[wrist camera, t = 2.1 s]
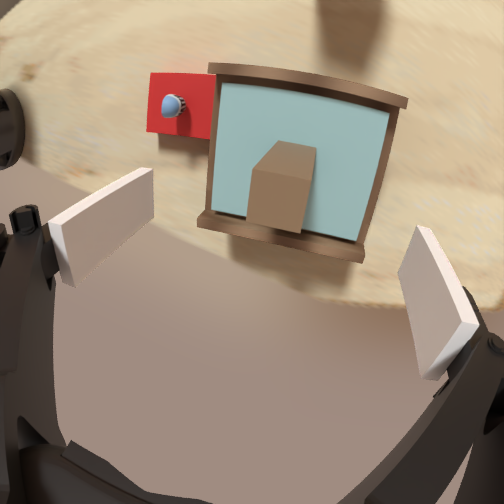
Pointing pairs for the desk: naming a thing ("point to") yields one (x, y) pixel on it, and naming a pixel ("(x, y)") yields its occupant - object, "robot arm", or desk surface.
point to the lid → (295, 159)
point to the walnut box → (309, 85)
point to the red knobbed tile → (181, 104)
